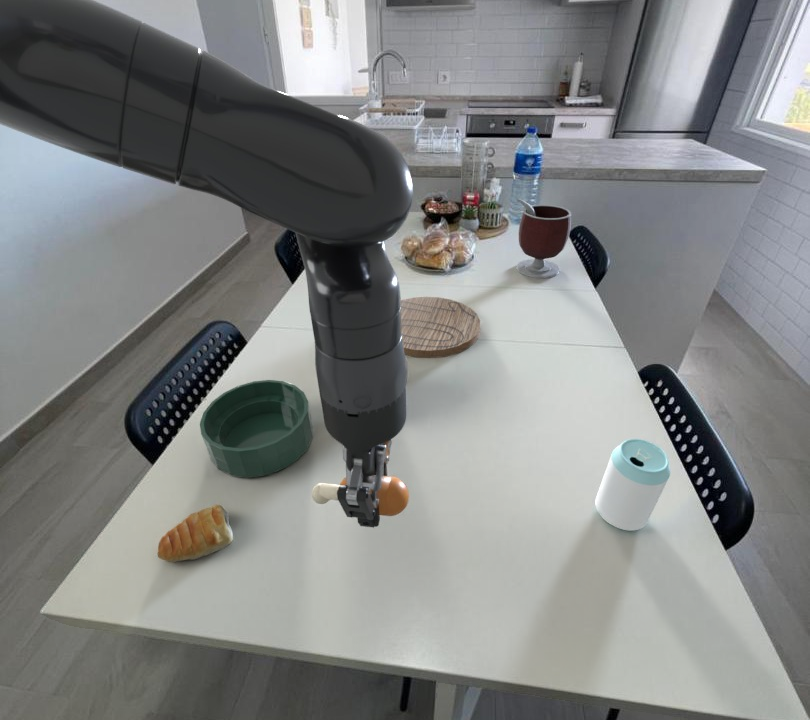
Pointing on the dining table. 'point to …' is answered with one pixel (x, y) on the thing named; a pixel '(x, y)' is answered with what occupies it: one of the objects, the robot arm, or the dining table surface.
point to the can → (632, 484)
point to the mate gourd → (542, 238)
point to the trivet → (437, 327)
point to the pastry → (197, 535)
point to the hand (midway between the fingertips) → (373, 504)
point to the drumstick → (390, 494)
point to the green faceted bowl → (257, 428)
